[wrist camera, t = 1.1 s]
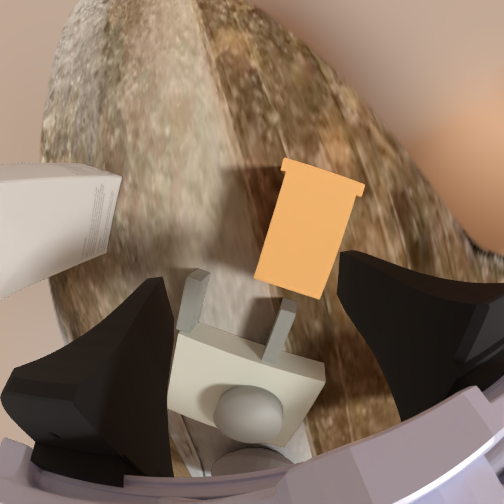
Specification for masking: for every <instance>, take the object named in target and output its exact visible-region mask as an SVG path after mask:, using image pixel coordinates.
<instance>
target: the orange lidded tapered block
mask: <svg viewBox="0 0 504 504" xmlns="http://www.w3.org/2000/svg"><path fill="white" fill-rule="evenodd" d="M281 171H282V173H283V174H284V175H285V177H284V180H283V183H282V187H281V190H280V193H279V197H278V200H277V203H276V207H275V210H274V213H273V216H272V220H271V223H270V226H269V230H268V233H267V236H266V239H265V243H264V246H263V249H262V252H261V256H260V259H259V262H258V265H257V269H256V272H255V275H254V278H255V279H258V280H261V281H264V282H267V283H270V284H273V285H276V286H279V287H282V288H285V289H288V290H292V291H295V292H298V293H301V294H304V295H307V296H310V297H313V298H317V299H320V297H321V295H322V292H323V290H324V287H325V284H326V282H327V279H328V277H329V274H330V271H331V269H332V266H333V263H334V260H335V258H336V255H337V252H338V249H339V246H340V243H341V240H342V238H343V235H344V232H345V229H346V226H347V223H348V220H349V216H350V213H351V210H352V207H353V204H354V201H355V197H362V193H363V190H364V186H365V184H362V183H359V182H357V181H354V180H351V179H349V178H346V177H343V176H340V175H337V174H334V173H332V172H329V171H326V170H323V169H320V168H317V167H313V166H310V165H307V164H304V163H301V162H297V161H294V160H291V159H287V158H284V160H283V163H282V167H281Z"/></svg>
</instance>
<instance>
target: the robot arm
mask: <svg viewBox="0 0 504 504" xmlns="http://www.w3.org/2000/svg"><path fill="white" fill-rule="evenodd" d="M337 295H338V297H339V299H340V302H341V304H342V306H343V308H344V310H345V312H346V313H347V315H348V316H349V318H350V319H351V321H352V322H353V323H354V325H355V326H356V328H357V329H358V331H359V332H360V334H361V335H362V336H363V338H364V339H365V341H366V342H367V344H368V345H369V347H370V348H371V350H372V352H373V353H374V355H375V357H376V359H377V361H378V363H379V365H380V367H381V369H382V371H383V373H384V375H385V378H386V380H387V382H388V385H389V387H390V389H391V392H392V395H393V397H394V400H395V403H396V406H397V409H398V412H399V415H400V418H401V423H399V424H397V425H395V426H393V427H390V428H388V429H386V430H383V431H381V432H378V433H376V434H373V435H371V436H368V437H366V438H363V439H360V440H358V441H355V442H352V443H349V444H346V445H344V446H341V447H339V448H336V449H334V450H331V451H329V452H326V453H323V454H321V455H318V456H315V457H313V458H311V459H309V460H307V461H305V462H301V463H297V464H293V465H288V466H284V467H279V468H274V469H268V470H262V471H256V472H249V473H241V474H233V475H223V476H210V477H183V478H174V474H173V468H172V461H171V453H170V444H169V433H168V415H167V388H168V378H169V370H170V363H171V356H172V348H173V341H174V317H173V314H172V310H171V307H170V303H169V300H168V296H167V292H166V288H165V284H164V280H163V277H156V278H148V279H147V280H145V281H144V282H143V283H142V284H141V285H140V286H139V287H138V288H137V289H136V290H135V291H134V292H133V293H132V294H131V295H130V296H129V297H128V298H127V299H126V300H125V301H124V302H123V303H122V304H120V305H119V306H118V307H117V308H116V309H115V310H114V311H113V312H112V313H110V314H109V315H108V316H107V317H106V318H105V319H104V320H102V321H101V322H100V323H99V324H97V325H96V326H95V327H93V328H92V329H91V330H89V331H88V332H87V333H85V334H84V335H82V336H81V337H79V338H77V339H76V340H74V341H73V342H71V343H69V344H68V345H66V346H64V347H63V348H61V349H59V350H57V351H55V352H53V353H51V354H49V355H47V356H45V357H43V358H40V359H38V360H36V361H33V362H30V363H27V364H25V365H22V366H20V367H16V368H14V370H13V371H12V373H11V375H10V377H9V379H8V381H7V383H6V385H5V387H4V389H3V391H2V393H1V397H0V399H1V402H2V405H3V407H4V409H5V410H6V412H7V413H8V415H9V416H10V417H11V418H12V419H13V420H14V421H15V423H16V424H18V426H19V427H20V428H21V429H22V430H23V431H25V432H26V433H27V434H28V435H29V436H30V437H31V438H32V439H33V440H34V441H35V445H34V449H32V448H30V447H29V446H27V445H25V444H23V443H20V442H17V441H14V440H11V439H8V438H6V437H5V438H3V440H2V443H1V446H0V502H1V503H3V504H504V283H471V282H461V281H455V280H448V279H443V278H438V277H434V276H430V275H426V274H422V273H419V272H416V271H413V270H410V269H407V268H403V267H401V266H398V265H395V264H392V263H390V262H387V261H384V260H382V259H379V258H377V257H374V256H371V255H368V254H365V253H362V252H359V251H355V250H351V251H344V252H340V262H339V275H338V286H337Z"/></svg>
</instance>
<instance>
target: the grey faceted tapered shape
mask: <svg viewBox="0 0 504 504" xmlns="http://www.w3.org/2000/svg"><path fill="white" fill-rule="evenodd" d="M293 464H294V463H292V462H291V461H290V460H289V459H287V458H285V457H284V456H283V455H281V454H279V453H278V452H275V451H272V450H269V449H263V448H244V449H241V450H238V451H234V452H231V453H227V454H226V455H224V456H222V457H220V458H219V459H218V460H217V461H216V462H215V463H214V464H213V466H212V470H211V475H212V476H223V475H233V474H241V473H249V472H256V471H262V470H268V469H274V468H279V467H284V466H288V465H293Z"/></svg>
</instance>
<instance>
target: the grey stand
mask: <svg viewBox="0 0 504 504" xmlns="http://www.w3.org/2000/svg"><path fill="white" fill-rule="evenodd" d="M209 277H210V273H209V272H206V271H204V270H201V269H196V270H195V271H193V272H192V273H191V274H189V275H188V276H187V277H186V282H185V287H184V291H183V296H182V301H181V306H180V311H179V316H178V321H177V326H176V329H178V330H180V332H179V333H178V338H177V343H176V348H175V354H174V360H173V365H172V371H171V377H170V383H169V389H168V395H167V408H168V409H170V410H172V411H175V412H177V413H179V414H182V415H184V416H186V417H189V418H191V419H194V420H196V421H199V422H202V423H204V424H207V425H210V426H213V427H215V428H218V429H219V430H220V431H221V432H222V433H223V434H224V435H226V436H228V437H229V438H231V439H234V440H236V441H239V442H244V443H263V442H264V443H268V444H272V445H276V446H280V447H285V446H286V445H287V443H288V442H289V440H290V439H291V438H292V436H293V435H294V433H295V432H296V430H297V429H298V427H299V426H300V424H301V422H302V421H303V419H304V418H305V416H306V415H307V413H308V411H309V410H310V408H311V407H312V405H313V403H314V402H315V400H316V398H317V397H318V395H319V393H320V391H321V390H322V388H323V386H324V384H325V383H326V378H325V367H324V363H323V362H319V361H315V360H312V359H308V358H305V357H301V356H298V355H294V354H291V353H288V352H284V351H281V350H282V348H283V345H284V343H285V340H286V338H287V335H288V333H289V331H290V328H291V326H292V323H293V321H294V318H295V316H296V306H297V302H296V301H292V300H289V299H286V298H283V299H282V302H281V305H280V308H279V310H278V313H277V316H276V319H275V321H274V324H273V327H272V329H271V332H270V335H269V337H268V340H267V343H266V345H262V344H259V343H256V342H253V341H250V340H247V339H244V338H241V337H238V336H235V335H233V334H230V333H227V332H224V331H221V330H219V329H216V328H213V327H211V326H208V325H205V324H203V323H200V322H198V321H199V317H200V313H201V309H202V305H203V301H204V297H205V293H206V289H207V285H208V281H209Z"/></svg>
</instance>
